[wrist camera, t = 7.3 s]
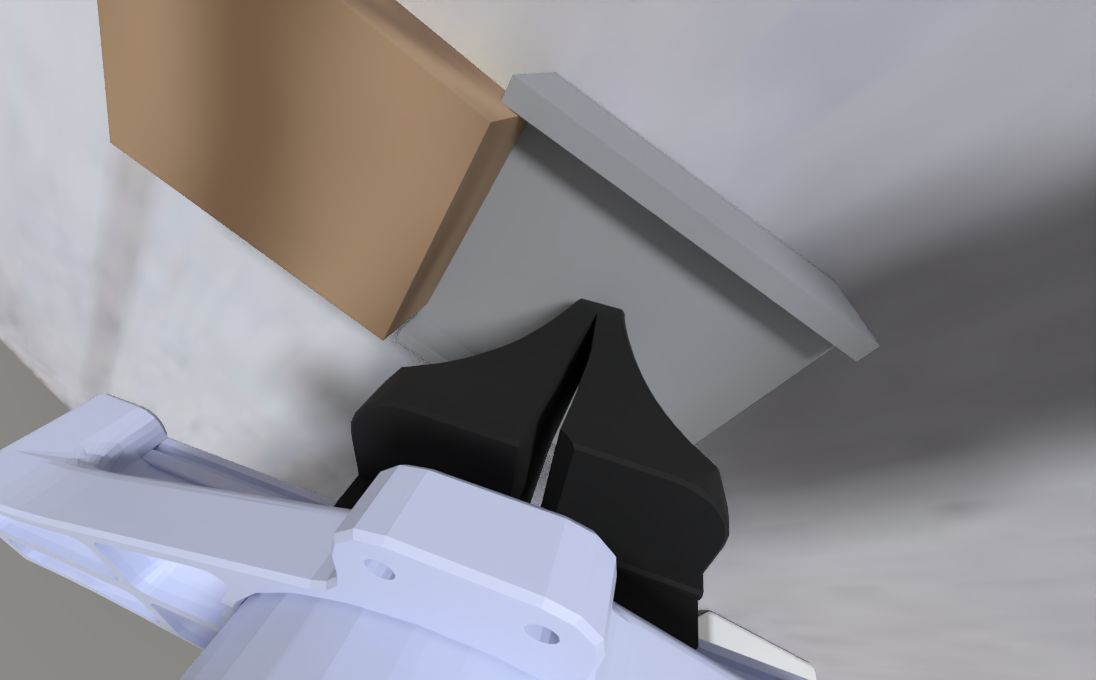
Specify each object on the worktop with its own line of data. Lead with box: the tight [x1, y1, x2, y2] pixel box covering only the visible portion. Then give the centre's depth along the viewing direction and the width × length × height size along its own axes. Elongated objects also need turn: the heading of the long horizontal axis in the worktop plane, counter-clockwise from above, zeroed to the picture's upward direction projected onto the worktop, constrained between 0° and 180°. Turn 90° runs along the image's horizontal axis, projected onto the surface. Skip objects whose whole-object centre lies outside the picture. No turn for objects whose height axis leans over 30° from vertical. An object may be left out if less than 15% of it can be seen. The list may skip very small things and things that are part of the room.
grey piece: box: [396, 72, 880, 445], centre depth 14 cm, size 10×9×4 cm
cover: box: [97, 0, 528, 340], centre depth 11 cm, size 9×7×2 cm
